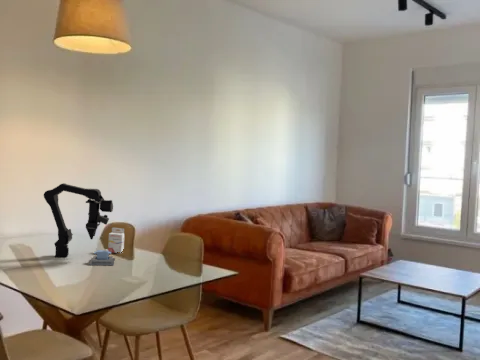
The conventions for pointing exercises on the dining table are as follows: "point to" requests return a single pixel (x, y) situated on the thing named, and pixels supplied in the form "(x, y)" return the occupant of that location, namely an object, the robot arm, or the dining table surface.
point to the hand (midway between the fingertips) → (92, 237)
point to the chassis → (102, 261)
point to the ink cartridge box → (116, 240)
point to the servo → (102, 254)
